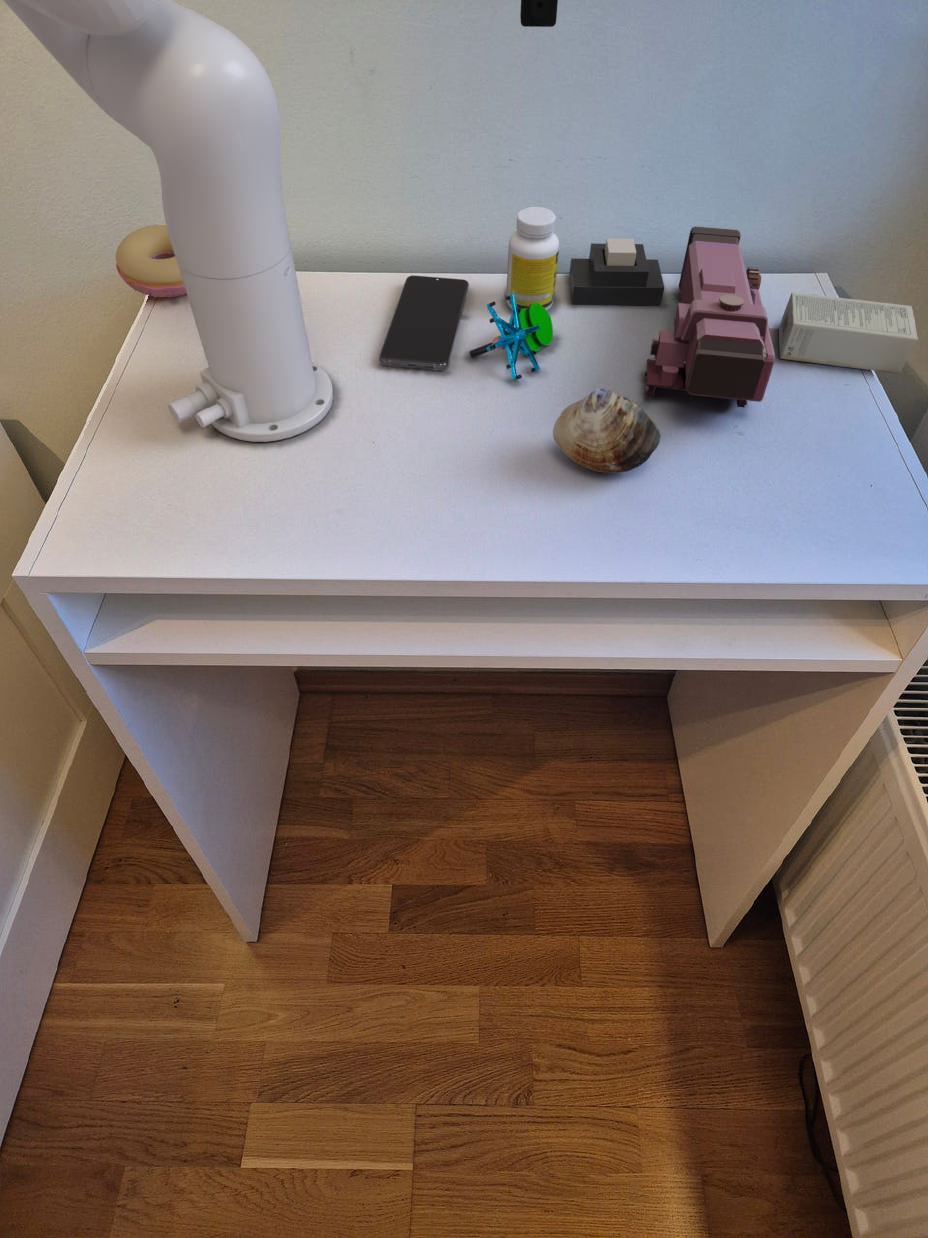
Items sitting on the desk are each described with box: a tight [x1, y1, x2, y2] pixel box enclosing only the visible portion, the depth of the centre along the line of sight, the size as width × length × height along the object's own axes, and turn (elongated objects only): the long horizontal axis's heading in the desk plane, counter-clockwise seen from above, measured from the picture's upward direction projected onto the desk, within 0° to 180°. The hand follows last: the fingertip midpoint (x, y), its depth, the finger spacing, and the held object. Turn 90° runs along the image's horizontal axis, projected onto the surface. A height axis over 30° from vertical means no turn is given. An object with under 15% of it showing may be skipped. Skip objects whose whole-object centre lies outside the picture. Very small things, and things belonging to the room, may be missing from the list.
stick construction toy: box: [469, 294, 554, 382], centre depth 82 cm, size 12×7×8 cm
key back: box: [604, 237, 636, 266], centre depth 87 cm, size 3×3×2 cm
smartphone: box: [378, 274, 470, 371], centre depth 86 cm, size 7×1×16 cm
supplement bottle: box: [505, 206, 560, 312], centre depth 86 cm, size 5×5×10 cm
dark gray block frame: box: [568, 242, 665, 307], centre depth 89 cm, size 10×6×4 cm, turn 89°
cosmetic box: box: [778, 292, 919, 375], centre depth 82 cm, size 6×4×12 cm
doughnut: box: [115, 224, 187, 299], centre depth 91 cm, size 11×11×4 cm
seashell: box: [552, 388, 662, 474], centre depth 70 cm, size 10×6×8 cm, turn 70°
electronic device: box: [644, 226, 776, 409], centre depth 79 cm, size 11×27×10 cm, turn 171°
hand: (537, 22), depth 72 cm, fingers closed
